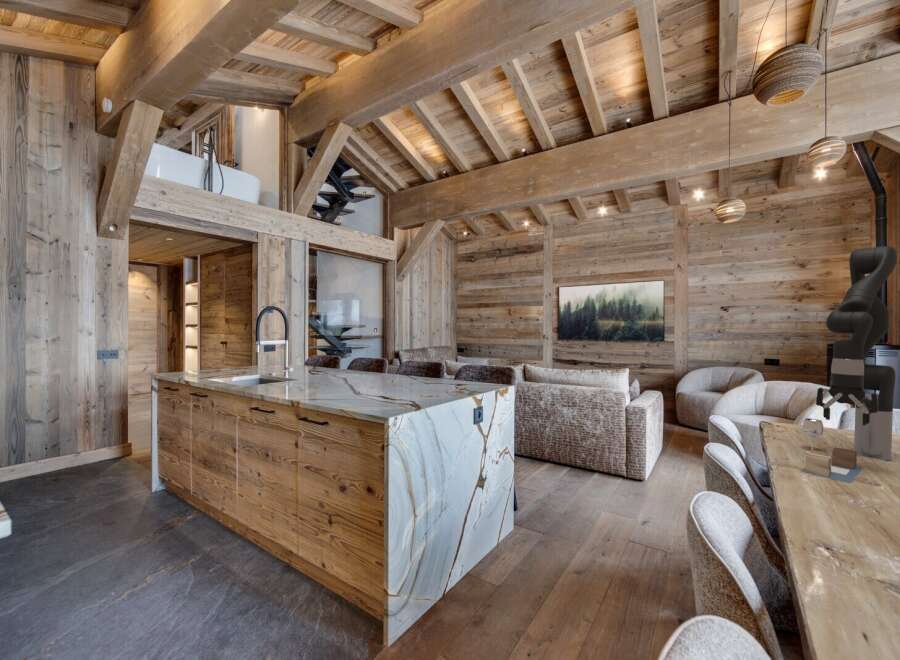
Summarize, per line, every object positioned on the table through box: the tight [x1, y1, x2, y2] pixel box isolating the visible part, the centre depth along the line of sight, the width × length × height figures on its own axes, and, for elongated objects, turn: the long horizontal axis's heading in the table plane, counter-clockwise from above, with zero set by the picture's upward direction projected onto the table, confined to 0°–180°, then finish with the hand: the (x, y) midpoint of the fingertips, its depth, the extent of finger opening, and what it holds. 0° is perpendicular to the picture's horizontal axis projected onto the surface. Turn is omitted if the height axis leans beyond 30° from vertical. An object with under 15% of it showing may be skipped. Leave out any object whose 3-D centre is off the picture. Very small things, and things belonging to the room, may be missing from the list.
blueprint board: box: [800, 461, 864, 484], centre depth 125 cm, size 23×11×1 cm, turn 127°
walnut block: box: [831, 446, 858, 470], centre depth 129 cm, size 5×5×5 cm
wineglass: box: [802, 417, 825, 451], centre depth 146 cm, size 6×6×12 cm
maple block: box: [805, 452, 832, 478], centre depth 122 cm, size 5×5×5 cm
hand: (845, 422), depth 128 cm, fingers open, 8 cm apart
